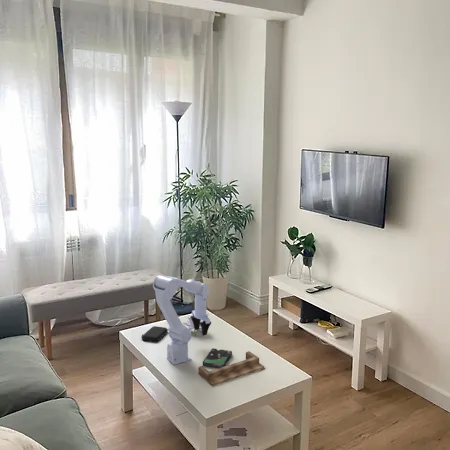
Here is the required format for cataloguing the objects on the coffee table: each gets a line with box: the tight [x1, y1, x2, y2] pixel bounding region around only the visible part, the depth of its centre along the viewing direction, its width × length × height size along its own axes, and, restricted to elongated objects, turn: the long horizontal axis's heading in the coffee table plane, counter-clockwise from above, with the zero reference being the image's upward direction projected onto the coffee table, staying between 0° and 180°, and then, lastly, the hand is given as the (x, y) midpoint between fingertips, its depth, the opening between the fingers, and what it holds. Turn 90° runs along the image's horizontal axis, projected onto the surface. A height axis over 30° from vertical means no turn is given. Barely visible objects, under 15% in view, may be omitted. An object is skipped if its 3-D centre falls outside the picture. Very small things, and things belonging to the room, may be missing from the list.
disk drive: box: [202, 348, 233, 369], centre depth 221 cm, size 10×3×15 cm
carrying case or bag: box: [141, 325, 169, 343], centre depth 247 cm, size 11×3×15 cm
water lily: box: [182, 317, 203, 337], centre depth 249 cm, size 15×15×9 cm
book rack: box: [197, 350, 265, 387], centre depth 211 cm, size 28×12×4 cm, turn 123°
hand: (200, 332), depth 232 cm, fingers open, 7 cm apart
